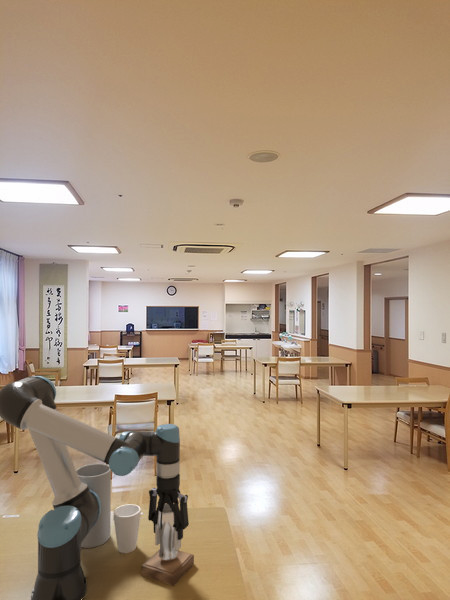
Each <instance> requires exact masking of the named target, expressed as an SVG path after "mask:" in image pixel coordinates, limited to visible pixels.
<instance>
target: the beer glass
mask: <svg viewBox="0 0 450 600" xmlns="http://www.w3.org/2000/svg"><path fill="white" fill-rule="evenodd" d="M157 527H158V534H159V540H160V544H159V549H160V551H159V558H160V559H161V560H164V561H170V560H173V559H175V558H176V557H177V555H178V552H177V551H175V529H177V528H176V524H175V518H174V512H172V509H170V506H169V505H168V504H165V505H164V508H163V511H162V512H161V511H160V510H159V508H158V517H157Z"/></svg>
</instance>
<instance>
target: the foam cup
mask: <svg viewBox="0 0 450 600" xmlns="http://www.w3.org/2000/svg"><path fill="white" fill-rule="evenodd" d="M141 513H142V510H141V506H139V505H137V504H134V503H130V504H129V503H127V504H122V505H120V506H118V507H116V508H114V509H113V522H114V530H115V536H116V545H117V547H116V548H117V551H118V552H119V553H122V554H127V553H129V554H130V553H132V552H133V551H135V550H136V548H137V542H138V535H139V530H140V528H139V527H140V520H141V515H142V514H141Z"/></svg>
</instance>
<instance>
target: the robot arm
mask: <svg viewBox="0 0 450 600" xmlns="http://www.w3.org/2000/svg"><path fill="white" fill-rule="evenodd" d="M56 397H57V388H56V386H55V384H54V383H53V382H52V381H51V380H50V379H49V378H47V377H45V376H43V375H31V376H28V377H25V378H23V379H20V380H16V381H12V382H9V383H8V384H6V385H4V386H3V387H1V388H0V418H1V419H2V420H3V421H5V422H6V423H7V424H9V425H11V426H13V427H15V428H18V429H20V430H22V431H25V430H28V431H29V434H30V437H31V439H32V442H33V444H34V446H35V449H36V452H37V455H38V457H39V459H40V462H41V464H42V468H43V470H44V472H45V475H46V477H47V480H48V482H49V485H50V487H51V490H52V493H53V495H54V498H53V501H52V502H51V505H52V507H53V509H50V510H49V511H47V512H46V513H45V514H44V515H43V516H42V517H41V519H40V520H39V523H38V530H37V574H36V578H35V581H34V586H33V588H32V590H31V596H30V600H81V599H82V598H83V597H84V596H86V595H85V594H87V591H88V590H87V588H88V587H87V585H88V583H87V578H86V576H85V572H84V571H83V567H82V563H81V561H82V560H81V552H82V551H81V549H82V547H81V543H82V541H83V540H84V538H85V537H86V535H87V534H88V533H89V531H90V530H91V528H92V527H93V526H94V525H95V524H96V522H97V520H98V517H99V515H100V512H101V502H100V499H99V497H98V495H97V494H96V493H95V492H92V491H91V490H89V488H88V485H87V484H85V483H82V482H81V481H80V479H79V476H78V474H77V471H76V470H77V469H76V466H75V464H74V461H73V459H72V457H71V453H70V451H69V449H68V447H69V448H71V449H73V450H76V451H78V452H80V453H82V454H85V455H87V456H89V457H91V458H94V459H96V460H98V461H100V462H103V464H106V465H108V466H109V467H110V469H111V473H113V474H114V475H115V476H118V477H125V476H128V475H129V474H131V473H132V471H134V470H135V469H136V467H137V466H138V465H139V462H140V461H141V460H142V459H143V457H156V458H155V459H156V462H155V464H156V466H155V467H156V468H155V470H156V471H155V472H156V483H155V484H156V487H152V488H151V489H150V490H148V494H149V505H148V517H147V518H148V521H149V522H150V521H151V522H152V524H153V533H154V534H155V535H154V536H155V538H154V539H155V546H160V540H159V534H158V527H157V517H158V508H159V510H160V511H161V512H162V511H163V508H164V505H165V504H168V505H169V506H170V509H172V512H174V518H175V524H176V528H177V529H175V551H177V550H179V549H181V547H182V540H183V538H184V530H186V529H187V527H189V526H190V525H189V513H188V499H189V496H188V495H187V494H182V493H181V491H180V485H181V484H180V483H181V479H180V478H181V474H180V471H181V470H180V467H181V466H180V462H181V461H180V460H181V458H180V457H181V455H180V454H181V453H180V452H181V450H180V449H181V448H180V446H181V444H180V443H181V438H180V436H181V435H180V428H179V426H178V425H177V424H173V423H165V424H160V425H158V426H157V427H156V429H155V430H154V431H137V430H131V431H123V432H121V434H119V437H116V436H114V435H111V434H109V433H107V432H105V431H102V430H100V429H98V428H96V427H94V426H92V425H89V424H87V423H84V422H83V421H81V420H78V419H76V418H73V417H71V416H69V415H67V414H64V413H63V412H60V411H58V407H57V405H56V402H55V399H56ZM84 598H85V597H84ZM84 598H83V599H84ZM83 599H82V600H83Z"/></svg>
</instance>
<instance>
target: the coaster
mask: <svg viewBox="0 0 450 600" xmlns="http://www.w3.org/2000/svg"><path fill="white" fill-rule="evenodd" d="M159 551H160V548H159V549H158V550H157V551H156V552H154V554H152V556H151V557H149V559H147V560H146V561H145V562H144V563H143V564H142V565H141V576H144V577H145V578H149V579H152V580H154V581H157V582H160V583H163V584H166V585H168V586H169V585H170V586H172V587H175V586H176V584H177V583H178V582H179V581H180V580H181V579H182V578H183V577H184V576H185V575H186V573H187V572H188V571H189V570H190V569H191V568H192V567H193V566H194V565H195V554H193V553H189V552H186V551H182V550H179V549H178V550H177V552H178V555H177V557H176V558H175V559H173V560H170V561H164V560H161V559H160V558H159Z"/></svg>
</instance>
